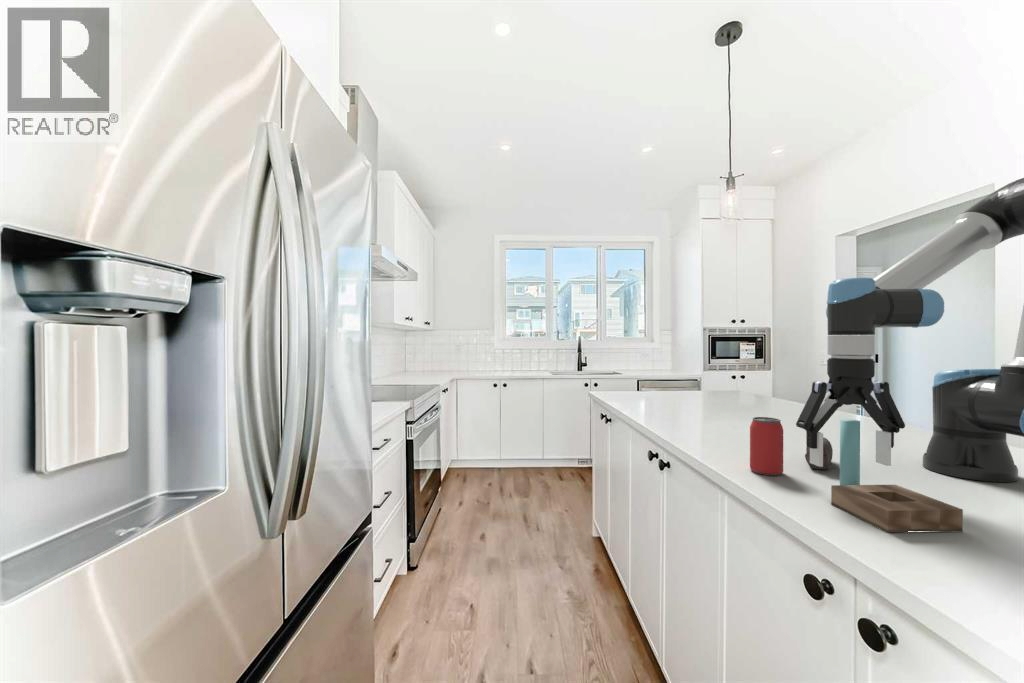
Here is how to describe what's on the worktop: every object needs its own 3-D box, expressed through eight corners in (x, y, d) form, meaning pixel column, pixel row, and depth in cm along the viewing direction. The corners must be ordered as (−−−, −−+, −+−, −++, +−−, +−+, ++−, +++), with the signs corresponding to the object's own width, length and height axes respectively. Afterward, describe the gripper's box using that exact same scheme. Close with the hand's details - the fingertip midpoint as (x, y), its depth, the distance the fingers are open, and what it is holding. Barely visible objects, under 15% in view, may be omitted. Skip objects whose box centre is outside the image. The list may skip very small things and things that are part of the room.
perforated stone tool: (810, 457, 116) (810, 429, 116) (835, 460, 112) (836, 432, 112) (802, 470, 104) (802, 440, 104) (830, 474, 101) (830, 443, 101)
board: (895, 503, 83) (895, 484, 83) (962, 531, 71) (962, 509, 71) (831, 504, 83) (831, 485, 83) (888, 533, 71) (888, 510, 71)
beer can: (788, 477, 99) (788, 422, 99) (755, 475, 100) (755, 421, 100) (776, 468, 105) (776, 417, 105) (746, 467, 106) (746, 416, 106)
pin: (851, 488, 92) (851, 418, 91) (864, 493, 88) (864, 421, 88) (835, 488, 91) (836, 419, 91) (848, 493, 88) (848, 422, 88)
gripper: (895, 356, 94) (894, 458, 94) (776, 356, 93) (776, 459, 93) (929, 357, 86) (928, 469, 86) (801, 358, 85) (800, 470, 86)
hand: (849, 464), depth 90 cm, fingers open, 13 cm apart
